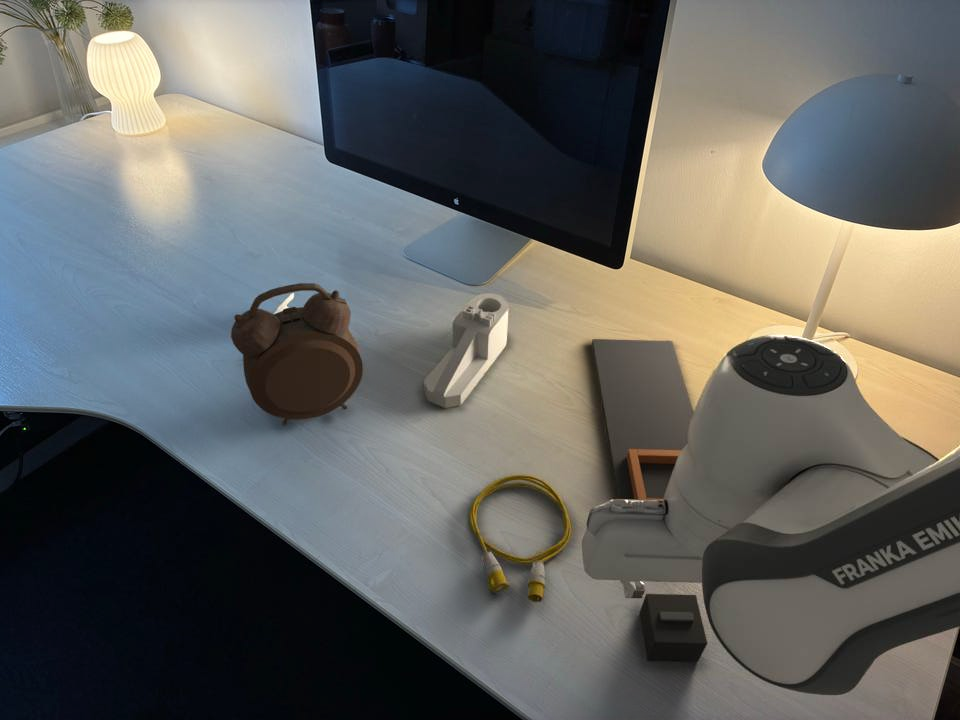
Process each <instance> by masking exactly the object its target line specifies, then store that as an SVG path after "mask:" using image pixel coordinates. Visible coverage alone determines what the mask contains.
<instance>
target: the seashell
mask: <svg viewBox="0 0 960 720" xmlns="http://www.w3.org/2000/svg"><path fill="white" fill-rule="evenodd" d="M294 298H295V292H291V293H290V295H289V296H288V297H286V299H284V301H283V302H281V304H280V305H279V306H278V308H276V310H275V311H274V312H273V313H272V314H273V315H274V314H276V313H278V312H281V311H283V309H286V308H290V307H288V304H289V303H290V302H291V301H292V300H294Z"/></svg>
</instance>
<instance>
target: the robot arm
mask: <svg viewBox="0 0 960 720" xmlns="http://www.w3.org/2000/svg"><path fill="white" fill-rule="evenodd" d="M693 411H694V413H693V415H692V418H691V421H690V424H689V427H688V437H687V438H688V444H687V445H686V446H685V447H684V448H683V450H682V451H681V453H680V454H679V456H678V458H677V461H676V464H675V466H674V469H673V472H672V475H671V478H670V480H669V484H668V486H667V489H666V492H665V495H664V498H663V500H626V499H617V498H614V499H610V500H608V501H606V502H603V503H602V504H599V505H595V506H592V507H591V508H590V509H589V513H588V516H587V520H586V528H585V530H584V533H583V536H582V540H581V556H582V564H583V569H584V572H585V573H586V575H588V576H589V577H590V578H591V579H592V580H597V581H620V583H621V584H622V585H623V591H624V597H625V599H643V596H644V594H645V591H646V589H645V583H643V582H659V583H663V582H664V583H695V584H701V587H702V588H701V589H702V598H703V603H704V609H705V613H706V616H707V619H708V623H709V625H710V628H711V629H712V632H713V633H714V636H715V637H716V639H717V640H718V642H719V643H720V644H721V646H722V647H723V648H724V650H725V651H726V652H727V653H728V654H729V655H730V657H731V658H732V659H733V660H734V661H735V662H737V664H739V666H741V667H742V668H743V669H745V670H746V671H747V672H749V673H750V674H752V675H753V676H754V677H756V678H758V679H759V680H761V681H764V682H766V683H767V684H771V685H773V686H776V687H779V688H783V689H787V690H790V691H793V692H798V693H803V694H810V695H821V696H841V695H845V694H847V693H849V692H851V691H852V690H854V689H855V688H856V686H858V684H859V683H860V682H861V680H862V679H863V677H864V676H865V675H866V673H867V672H868V671H869V669H870V668H871V666H872V665H873V663H874V662H875V660H876V659H878V658H879V657H881V656H882V655H883V654H885V653H886V652H889V651H891V650H893V649H896V648H898V647H900V646H903V645H905V644H909V643H913V642H916V641H918V640H922V639H925V638H928V637H931V636H934V635H938V634H940V633H943V632H947V631H950V630H953V629H956V628H959V627H960V445H959V446H957V447H956V448H955V449H953V450H952V451H951V452H949V453H948V454H946V455H945V456H944V457H942V458H941V459H939V458H938V457H937V456H936V455H934V454H933V453H931V452H929V451H928V450H926V448H924V447H922V446H920V445H919V444H916V443H915V442H912V441H911V440H909V439H907V438H905V437H904V436H901V435H900V434H899V433H898V432H896V430H895V429H893V428H892V427H891V425H889V424H888V423H887V422H886V421H885V420H884V419H883V418H882V417H881V416H880V415H879V414H878V413H877V412H876V411H875V410H874V409H873V407H871V405H870V404H869V403H868V402H867V400H866V399H865V397H864V396H863V394H862V393H861V390H860V389H859V386H858V384H857V381H856V378H855V376H854V373H853V371H852V369H851V367H850V366H849V364H848V363H847V362H846V360H845V359H844V358H843V357H842V356H841V355H839V354H838V353H837V352H836V351H834V350H832V349H831V348H829V347H828V346H826V345H824V344H822V343H819V342H817V341H815V340H811V339H807V338H804V337H801V336H800V337H799V336H796V335H788V334H769V335H761V336H757V337H753V338H750V339H748V340H745V341H742V342H741V343H739V344H737V345H735V346H733V347H732V348H730V349H729V350H727V352H726V353H725V354H723V356H722V357H721V358H720V359H719V361H718V362H717V364H716V365H715V367H714V369H713V370H712V372H711V373H710V375H709V378H708V379H707V381H706V383H705V385H704V387H703V389H702V391H701V394H700V396H699V398H698V400H697V403H696V405H695V407H694V409H693Z"/></svg>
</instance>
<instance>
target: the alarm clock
mask: <svg viewBox="0 0 960 720" xmlns="http://www.w3.org/2000/svg"><path fill="white" fill-rule="evenodd" d="M302 291H303V292H305V291H306V292H310V291H311V292H317V293H315V294H313V295H311V296H310V297H309V298H308V299H307V300H306V302H305V303H304V305H303V306H301V307H297V306H291V307H289V308H286V309H283V311H281V312H278V313H276V314H274V315H273V313H272V312H270V311H267V310H265V309H262V308H259V307H260V305H261V304H262V303H263V302H265V301H268V300H271V299H272V298H275V297H278V296H282V295H285V294H292V293H293V292H294V293H295V292H296V293H297V292H302ZM351 313H352V312H351V309H350V306H349V304H348V303H347V300H346V299H345V298H342V297H341V296H340V291H339V290H337V289H336V290H335V289H334V291H332V292H328V291H327V290H325V288H323V286H321V285H320V284H317V283H315V282H313V283H312V282H310V283H309V282H308V283H307V282H301V283H293V284H288V285H283V286H279V287H274V288H271V289H269V290H267V291H264V292H263V293H260V294H258V295H257V296H256V297H255V298H254V299H253V302H252V304H251V306H250V308H249V309H248V310H246V311H245V312H242V314H238V313H237V314H235V315H234V320H235V321H234V323H233V324H232V327H231V332H230V338H231V341H232V343H233V345H234V347H235V348H236V350H237V351H238V352H239V353H240V354H241V355H242V360H243V361H242V363H243V375H244V379H245V384H246V386H247V388H248V390H249V393H250V395H251V398H252V400H253V402H254V403H255V405H256V406H258V407H259V408H260V409H261V410H262V411H263V412H265V413H266V414H268V415H271V416H273V417H276V418H279V419H282V420H283V421H282V422H281V424H282V426H285V427H286V426H287V425H288V421H289V420H292V421H293V420H295V421H296V420H297V421H299V420H309V419H313V418H318V417H321V416H324V415H326V414H329V413H330V412H332V411H334V410H336V409H337V408H339V407H342V410H347V409H348V405H347V404H345V403H346V402H347V401H348V400H349V399H350V398H351V397H352V396H353V395H354V393H355V392H356V390H357V389H358V387H359V385H360V384H361V381H362V378H363V374H364V363H363V359H362V356H361V352H360V349H359V345H358V343H357V341H356V339H355V337H354V336H353V334H352V332H351V331H350V329H349V326H350V323H351V316H352V315H351Z"/></svg>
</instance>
